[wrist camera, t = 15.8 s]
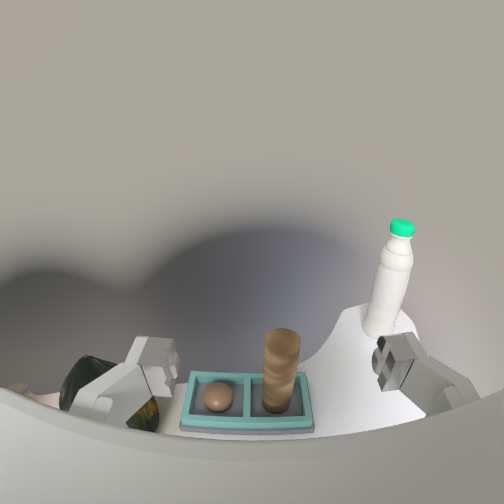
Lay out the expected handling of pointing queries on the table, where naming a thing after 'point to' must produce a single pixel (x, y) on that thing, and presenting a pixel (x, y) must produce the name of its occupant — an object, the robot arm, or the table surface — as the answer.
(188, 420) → the housing plate
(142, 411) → the squash
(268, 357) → the oak post
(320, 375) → the table surface
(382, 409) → the table surface
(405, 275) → the water bottle
